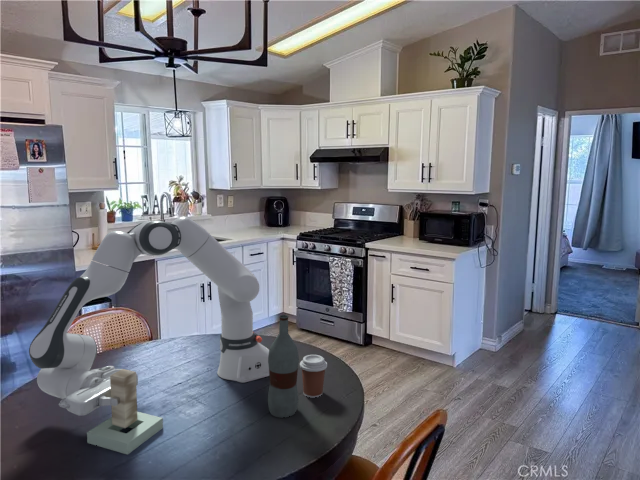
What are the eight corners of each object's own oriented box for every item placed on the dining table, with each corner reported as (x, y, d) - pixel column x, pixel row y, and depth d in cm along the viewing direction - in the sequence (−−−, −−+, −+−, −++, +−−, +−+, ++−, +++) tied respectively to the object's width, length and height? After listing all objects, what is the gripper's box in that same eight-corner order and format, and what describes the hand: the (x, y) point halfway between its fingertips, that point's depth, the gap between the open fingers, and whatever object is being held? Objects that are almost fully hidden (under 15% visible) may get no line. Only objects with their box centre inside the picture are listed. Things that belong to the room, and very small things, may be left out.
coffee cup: (317, 402, 146) (317, 366, 144) (293, 394, 150) (294, 360, 149) (331, 391, 153) (332, 357, 152) (309, 384, 158) (309, 351, 156)
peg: (124, 416, 128) (122, 368, 126) (137, 420, 126) (135, 371, 124) (112, 424, 124) (110, 375, 122) (125, 428, 122) (123, 378, 120)
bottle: (299, 404, 144) (301, 312, 140) (296, 419, 135) (297, 321, 131) (270, 402, 145) (270, 310, 141) (265, 417, 136) (265, 320, 132)
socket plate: (125, 418, 134) (124, 408, 134) (163, 427, 130) (162, 417, 129) (87, 442, 122) (86, 432, 121) (127, 454, 117) (127, 443, 117)
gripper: (53, 392, 118) (94, 403, 114) (114, 363, 137) (152, 371, 133) (55, 415, 119) (96, 427, 115) (115, 383, 138) (152, 391, 134)
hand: (126, 396), depth 124 cm, fingers closed on peg, 4 cm apart
